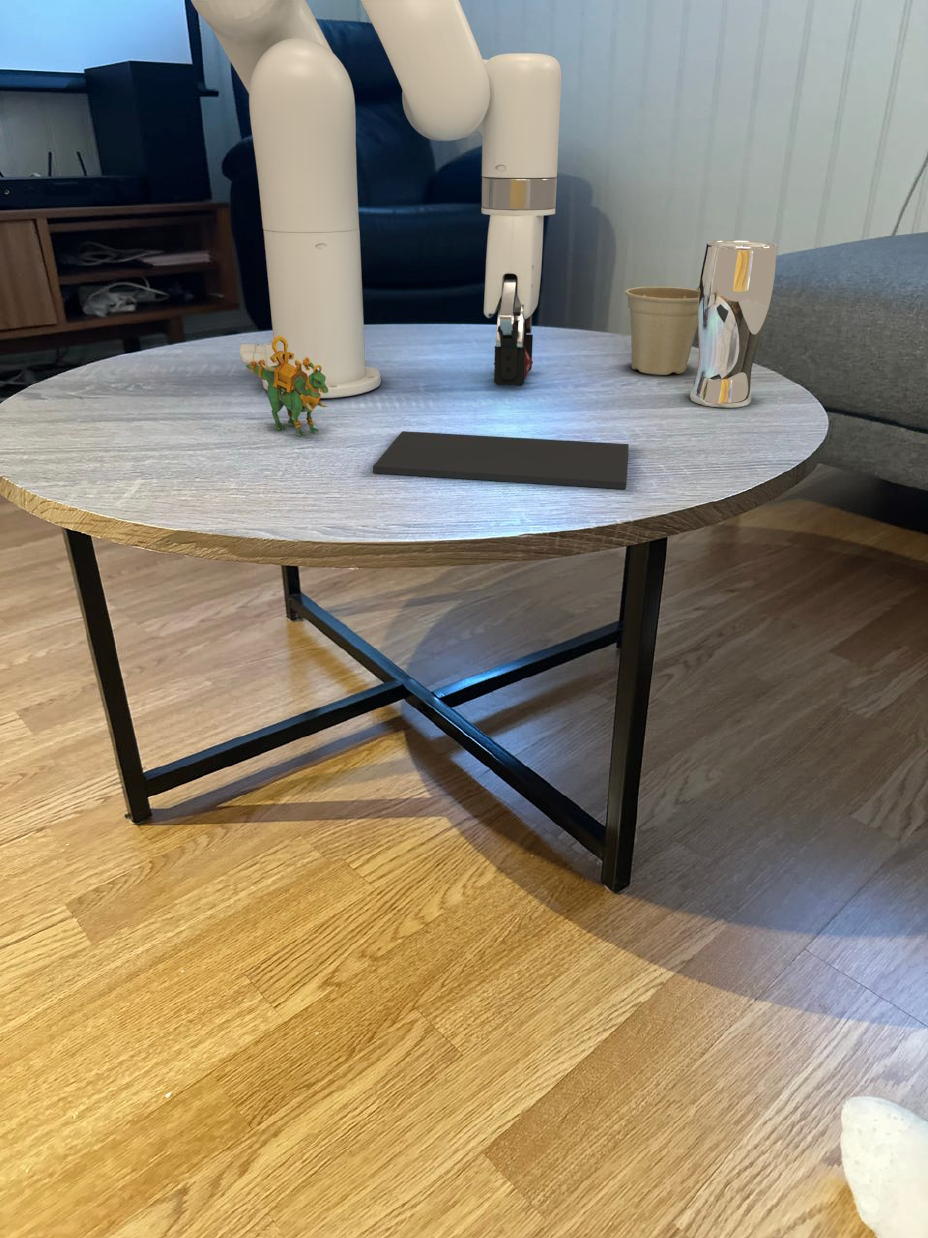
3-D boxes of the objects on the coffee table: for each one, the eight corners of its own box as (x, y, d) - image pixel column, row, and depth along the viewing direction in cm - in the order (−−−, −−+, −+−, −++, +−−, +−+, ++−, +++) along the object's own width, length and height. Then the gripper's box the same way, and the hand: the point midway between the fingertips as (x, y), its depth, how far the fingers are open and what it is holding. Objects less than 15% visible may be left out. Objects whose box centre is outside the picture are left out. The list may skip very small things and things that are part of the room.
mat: (372, 473, 72) (372, 465, 72) (402, 437, 81) (402, 430, 81) (625, 489, 69) (626, 481, 69) (628, 450, 78) (628, 443, 78)
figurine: (316, 444, 79) (309, 348, 75) (237, 418, 86) (227, 329, 82) (343, 437, 81) (338, 343, 77) (264, 412, 88) (255, 325, 84)
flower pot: (689, 361, 110) (698, 285, 106) (710, 379, 101) (720, 298, 97) (612, 361, 109) (618, 285, 105) (626, 379, 101) (634, 298, 97)
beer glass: (757, 411, 89) (783, 248, 82) (685, 407, 91) (705, 245, 84) (752, 394, 95) (776, 240, 88) (685, 390, 97) (703, 238, 90)
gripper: (494, 192, 99) (491, 359, 108) (467, 202, 84) (466, 395, 93) (562, 193, 98) (554, 362, 107) (547, 203, 83) (539, 398, 92)
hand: (513, 375), depth 100 cm, fingers open, 6 cm apart
